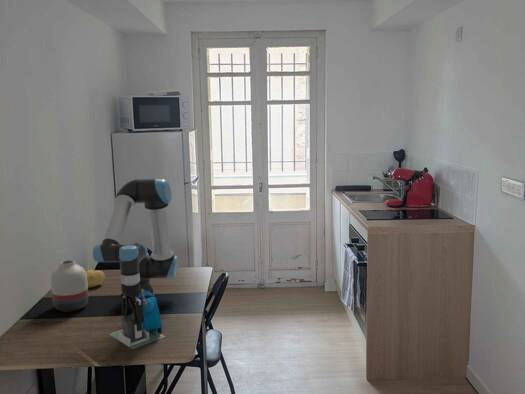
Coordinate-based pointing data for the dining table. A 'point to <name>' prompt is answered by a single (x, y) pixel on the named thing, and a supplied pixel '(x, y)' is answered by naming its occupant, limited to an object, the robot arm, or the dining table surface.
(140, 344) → the board
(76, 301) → the vase
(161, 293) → the dining table surface
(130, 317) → the plug
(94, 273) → the potato
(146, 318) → the blue suitcase
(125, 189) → the robot arm
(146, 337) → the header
